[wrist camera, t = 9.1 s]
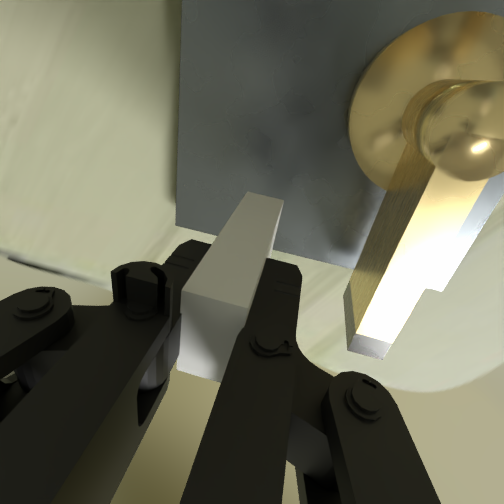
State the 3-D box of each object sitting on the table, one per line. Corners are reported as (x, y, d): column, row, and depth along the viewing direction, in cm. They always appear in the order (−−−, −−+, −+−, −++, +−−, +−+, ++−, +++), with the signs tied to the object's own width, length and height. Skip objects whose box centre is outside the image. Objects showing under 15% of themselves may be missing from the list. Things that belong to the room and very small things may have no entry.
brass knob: (378, 5, 11) (413, -41, 6) (557, 35, 10) (728, 6, 6) (300, 267, 17) (291, 335, 13) (410, 294, 16) (441, 376, 12)
